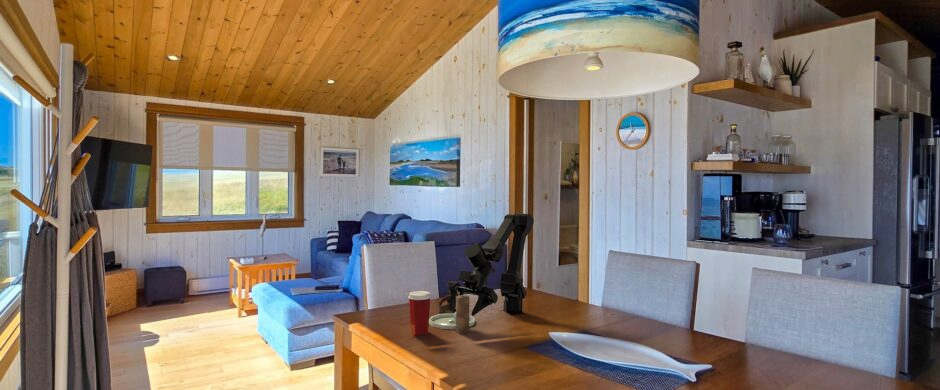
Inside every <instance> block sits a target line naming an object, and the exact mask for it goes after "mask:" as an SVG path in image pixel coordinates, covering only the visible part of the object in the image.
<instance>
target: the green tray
mask: <svg viewBox="0 0 940 390" xmlns="http://www.w3.org/2000/svg"><path fill="white" fill-rule="evenodd" d="M475 323H476V318H475V317H474V316H472V315H470V314H469V328H470V327H473V326H474V325H475ZM429 325H430V326H431V327H433V328H436V329H441V330H456V321H455V320H454V312H447V313H446V312H444V313H438V314H435V315H431V316H430V317H429Z"/></svg>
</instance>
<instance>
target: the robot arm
mask: <svg viewBox="0 0 940 390" xmlns="http://www.w3.org/2000/svg"><path fill="white" fill-rule="evenodd" d="M534 221H535V220H534V217H533V216H532V214H531V213H518V212H517V213H514V214H511V213H510V214H509V213H508V214H505V216H504V217H503V221H502V222H501V224H500V226H499V227H498V229H497V230H496V232H495V234H494V235H493V237H492V239H490V240H488V241H485V243H484V244H483V245H482V246H481V243H480V242H474V243H473V244H472V245H470V246H469V247H467V248H465V250H464V256H465V257H466V259H467V260H468V262H469V264H470V265H471V266H472V267H473V268H474V269H473V270H472V271H469V270H462V269H460V270H459V273H458V276H457V280H458V281H459V280H460V281H462V285H463V286H462V285H461V284H460V283H459V282H458V281H448V282H447V284H446V286H445V287H446V289H447V291H448V292H449V293H450V295H451V301H450V308H449V312H453V311H452V310H455V309H456V296H459V295H465V294H466V295H473V296H477V301H476V303H475V304H474V306H473V308H472V310H471V311H472V312H471V313H470V314H471V316H472V317H474V316H475V315H477V314H478V313H480V312H481V311H483V309H485V308H487V307H489V306H492V305H493V304H495V305H496V303H497V302H498V300H499V296H498V294H497V293H496V291H495V290H494V288H493V287H489V286H487V285H489V284H488V283H489V282H488V279H489V277H490V275H491V273H492V274H495V273H496V270H495V266H494V264H492V263H500V262H501V260H502V258H503V256H504V253H505V251H504V246H505V244H506V243H507V241H508V240H509V238H510V236H511V234H512V233H513V237H512V242H511V243H512V244H511V249H510V253H509V261H508V265H507V270H506V271H505V272H503V273H502V274H501V276H500V282H499V290H500V294H501V297H504V300H503V309H502V311H503V312H504V313H506V314H508V315H510V316H513V315H520V314H525V311H523V300H524V299H526V297H527V293H528V292H527V290H526V288H525V287H524V285H523V283H524V279H523V277H522V274H521V269H522V261H523V257H524V250H525V244H526V239H527V236H528V235H529V234H530V233H531V231H532V229H533V225H534ZM464 286H465V287H464Z"/></svg>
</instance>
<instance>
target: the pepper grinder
mask: <svg viewBox="0 0 940 390" xmlns="http://www.w3.org/2000/svg"><path fill="white" fill-rule="evenodd" d="M455 312H456V329H455V332H456V333H458V334H467V333H470V327H469V315H470V296H469V295H468V294H466V295H465V294H463V295H459V296H456V307H455Z"/></svg>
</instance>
